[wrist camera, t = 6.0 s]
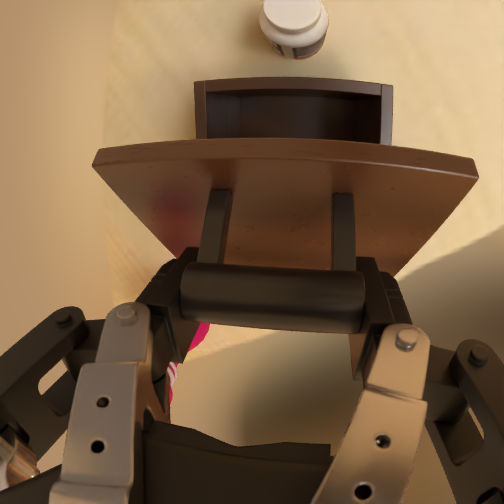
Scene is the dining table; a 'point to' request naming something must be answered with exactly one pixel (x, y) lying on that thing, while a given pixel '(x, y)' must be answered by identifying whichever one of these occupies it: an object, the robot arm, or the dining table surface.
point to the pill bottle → (294, 26)
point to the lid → (285, 220)
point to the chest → (294, 109)
